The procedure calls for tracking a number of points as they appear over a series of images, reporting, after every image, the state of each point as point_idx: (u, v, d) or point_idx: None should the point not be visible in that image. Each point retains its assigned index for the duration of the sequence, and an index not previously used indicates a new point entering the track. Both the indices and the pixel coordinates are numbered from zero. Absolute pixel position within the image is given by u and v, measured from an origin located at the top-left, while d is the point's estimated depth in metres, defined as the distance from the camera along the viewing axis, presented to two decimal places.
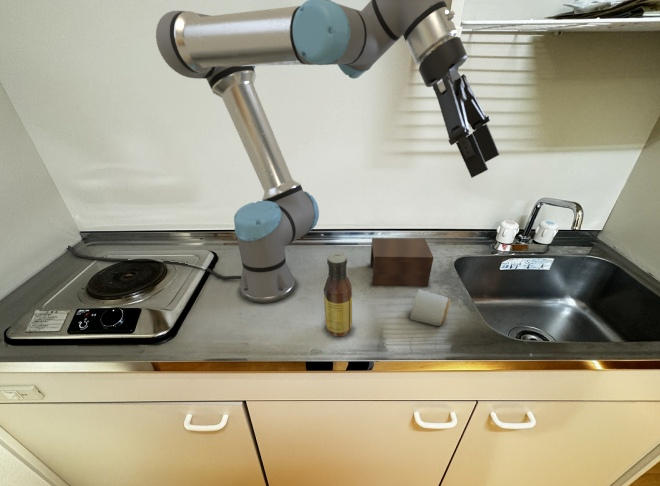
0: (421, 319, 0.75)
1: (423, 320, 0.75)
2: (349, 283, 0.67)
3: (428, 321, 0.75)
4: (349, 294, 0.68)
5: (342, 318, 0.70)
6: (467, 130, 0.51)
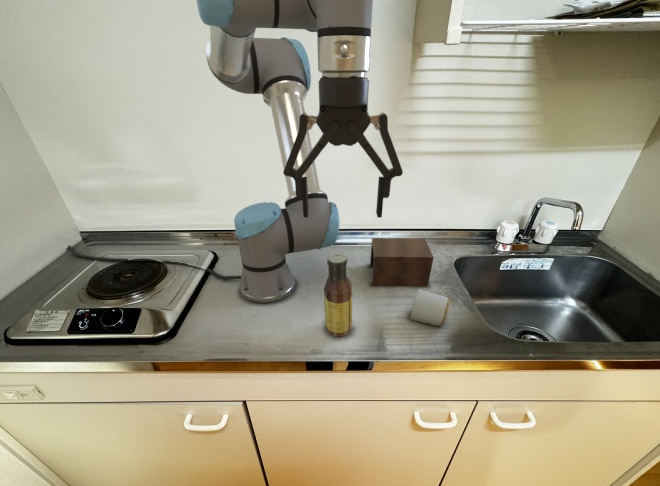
0: (421, 319, 0.75)
1: (423, 320, 0.75)
2: (349, 283, 0.67)
3: (428, 321, 0.75)
4: (349, 294, 0.68)
5: (342, 318, 0.70)
6: (295, 176, 0.54)
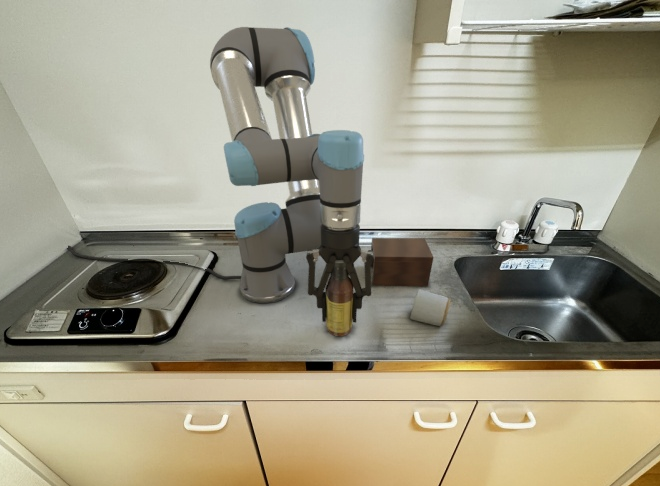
0: (421, 319, 0.75)
1: (423, 320, 0.75)
2: (351, 283, 0.67)
3: (428, 321, 0.75)
4: (351, 294, 0.67)
5: (343, 318, 0.70)
6: (317, 295, 0.68)
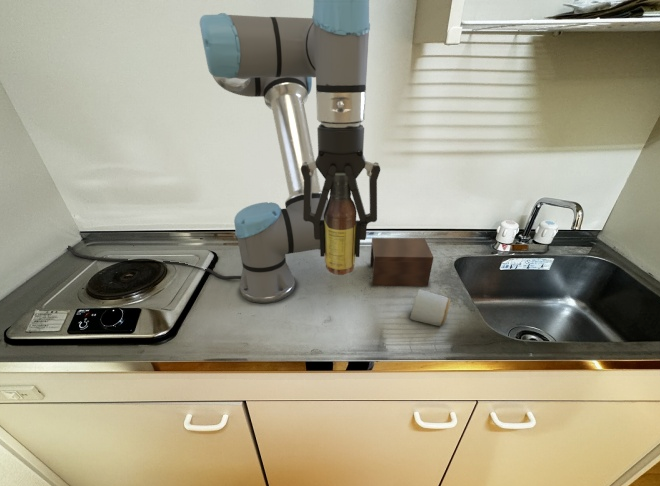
0: (421, 319, 0.75)
1: (423, 320, 0.75)
2: (354, 206, 0.57)
3: (428, 321, 0.75)
4: (353, 219, 0.58)
5: (345, 250, 0.60)
6: (314, 222, 0.59)
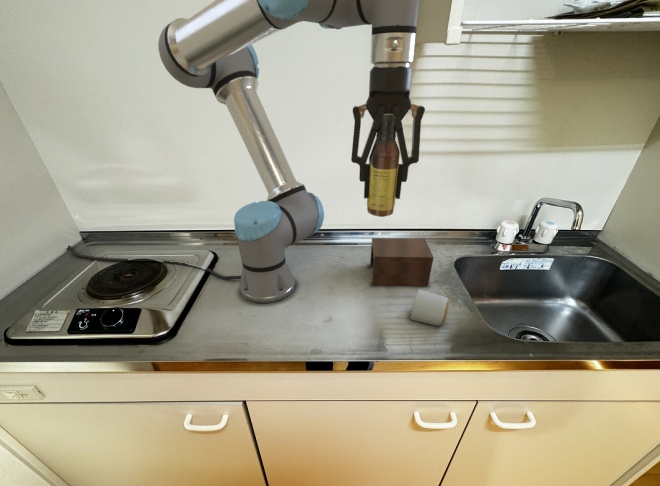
0: (421, 319, 0.75)
1: (423, 320, 0.75)
2: None
3: (428, 321, 0.75)
4: (397, 160, 0.64)
5: (387, 190, 0.66)
6: (360, 163, 0.65)
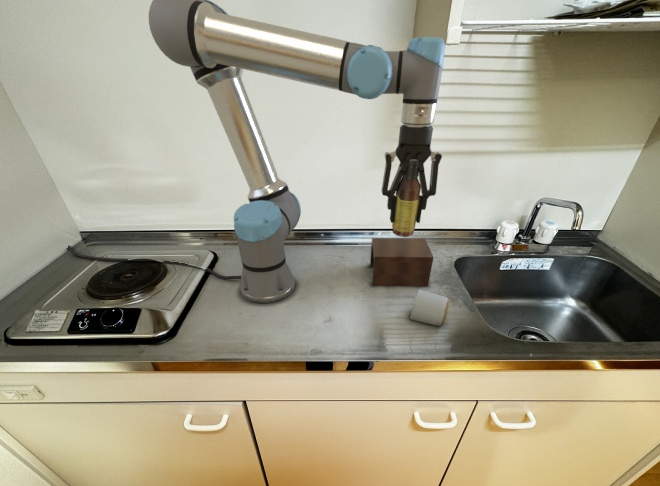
0: (421, 319, 0.75)
1: (423, 320, 0.75)
2: (419, 184, 0.80)
3: (428, 321, 0.75)
4: (419, 193, 0.80)
5: (411, 216, 0.83)
6: (389, 196, 0.81)
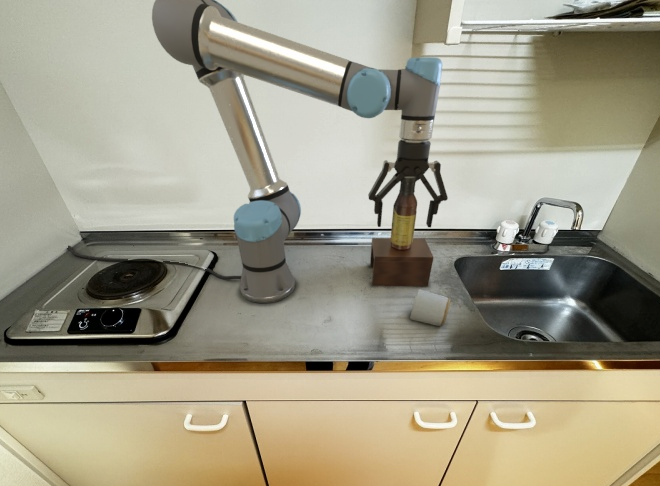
0: (421, 319, 0.75)
1: (423, 320, 0.75)
2: (416, 199, 0.82)
3: (428, 321, 0.75)
4: (415, 209, 0.83)
5: (408, 230, 0.85)
6: (376, 200, 0.82)
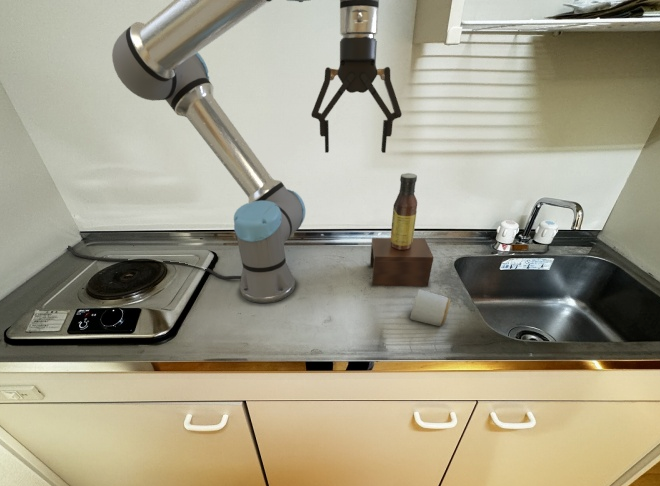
0: (421, 319, 0.75)
1: (423, 320, 0.75)
2: (416, 199, 0.82)
3: (428, 321, 0.75)
4: (415, 209, 0.83)
5: (408, 231, 0.85)
6: (320, 117, 0.71)
